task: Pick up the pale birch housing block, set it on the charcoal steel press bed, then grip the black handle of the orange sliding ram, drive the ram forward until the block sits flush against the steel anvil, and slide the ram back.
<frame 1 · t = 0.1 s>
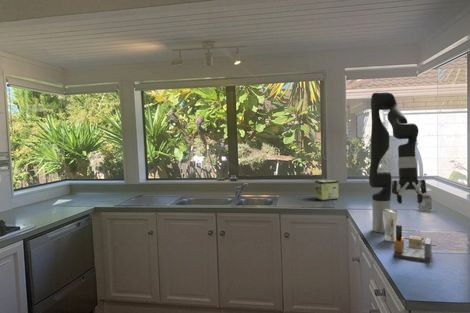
hand: (409, 203, 163), 22 cm above the countertop, tool pointing down, fingers open, 8 cm apart
press ram: (398, 237, 162), point 7 cm above the countertop, slide at 0.0 cm
beer glass: (390, 240, 183), on the countertop
press bed: (412, 255, 160), on the countertop
protein box: (326, 199, 295), on the countertop
housing block: (415, 248, 170), on the countertop
french press: (423, 210, 247), on the countertop
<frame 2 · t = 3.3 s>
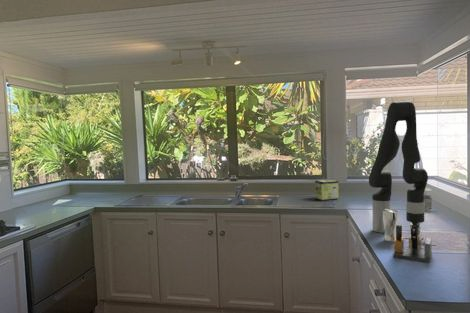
hand: (415, 246, 170), 0 cm above the countertop, tool pointing down, fingers closed on housing block, 5 cm apart
housing block: (415, 247, 170), on the countertop, touching gripper
everything else where it was.
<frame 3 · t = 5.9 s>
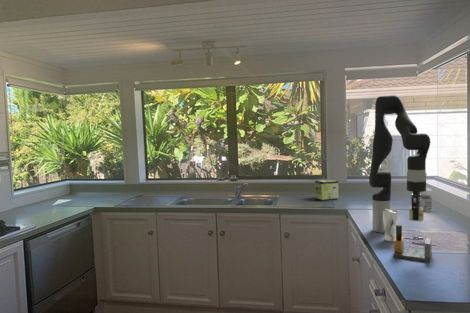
hand: (416, 218, 158), 17 cm above the countertop, tool pointing down, fingers closed on housing block, 5 cm apart
housing block: (416, 219, 158), point 16 cm above the countertop, touching gripper
everything else where it was.
when the fingers open (3 cm above the countertop, at t = 8.7 s): housing block drops 1 cm, resting on press bed.
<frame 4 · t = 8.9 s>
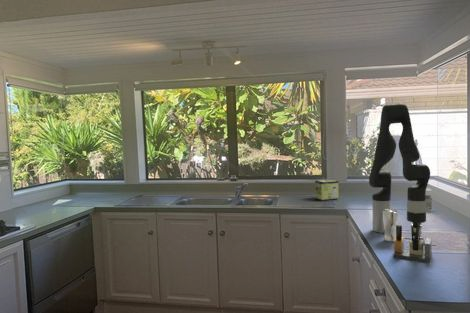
hand: (416, 247, 159), 4 cm above the countertop, tool pointing down, fingers open, 7 cm apart
housing block: (416, 252, 159), point 1 cm above the countertop, touching press bed
everything else where it was.
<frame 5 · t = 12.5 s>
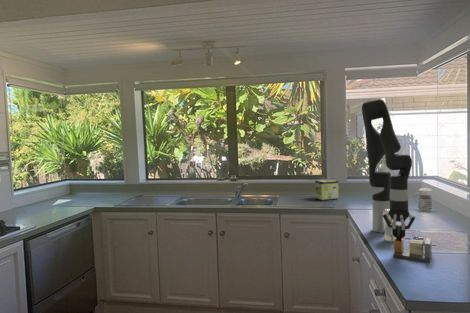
hand: (398, 237, 162), 8 cm above the countertop, tool pointing down, fingers closed on press ram, 2 cm apart
press ram: (398, 237, 162), point 7 cm above the countertop, slide at 0.0 cm, touching gripper
everything else where it was.
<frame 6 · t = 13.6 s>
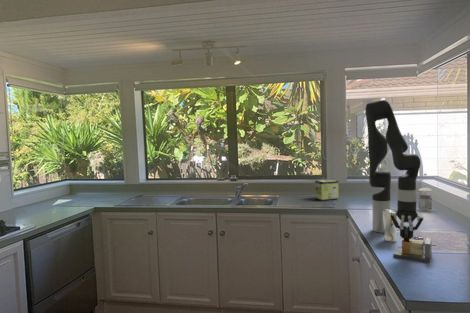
hand: (406, 237, 160), 8 cm above the countertop, tool pointing down, fingers closed on press ram, 2 cm apart
press ram: (406, 238, 160), point 7 cm above the countertop, slide at 3.1 cm, touching gripper, housing block
housing block: (416, 252, 159), point 1 cm above the countertop, touching press bed, press ram
everything else where it was.
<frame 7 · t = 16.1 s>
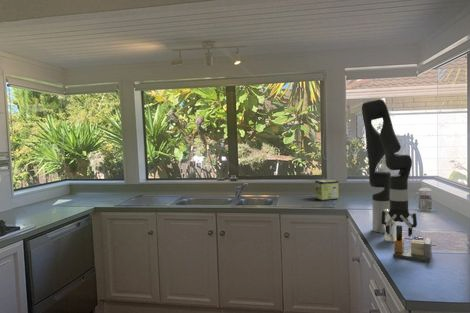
hand: (398, 234, 162), 9 cm above the countertop, tool pointing down, fingers open, 8 cm apart
press ram: (399, 238, 162), point 7 cm above the countertop, slide at 0.1 cm
housing block: (418, 252, 159), point 1 cm above the countertop, touching press bed
everything else where it was.
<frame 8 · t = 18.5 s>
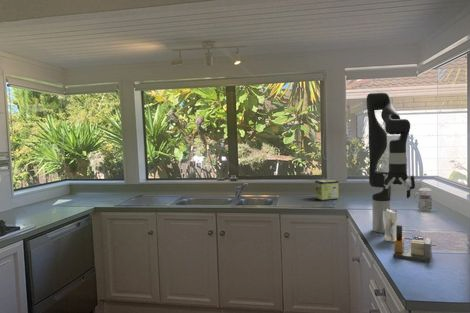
hand: (397, 197, 169), 24 cm above the countertop, tool pointing down, fingers open, 8 cm apart
nothing on the countertop moved.
at the end: housing block 0.5 cm from the target spot on the press bed, point 1.5 cm above the press bed's base; press ram slide at 0.1 cm; housing block tilted 0° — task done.
